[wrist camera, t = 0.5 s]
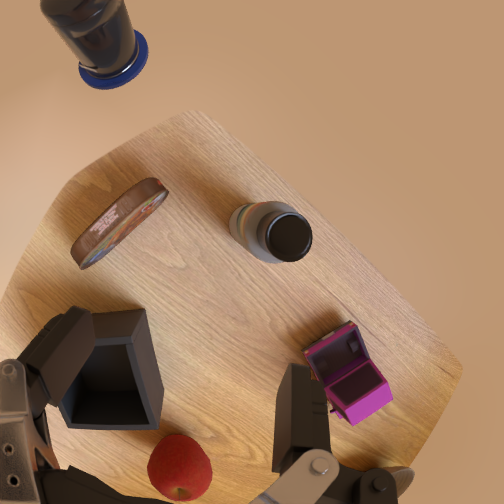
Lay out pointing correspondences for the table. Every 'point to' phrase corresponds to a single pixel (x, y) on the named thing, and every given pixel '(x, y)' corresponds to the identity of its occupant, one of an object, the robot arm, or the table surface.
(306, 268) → the table surface
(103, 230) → the tin
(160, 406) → the bin
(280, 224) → the lotion bottle
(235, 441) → the table surface
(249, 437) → the table surface
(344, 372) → the toy truck
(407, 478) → the bowl
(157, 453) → the apple
